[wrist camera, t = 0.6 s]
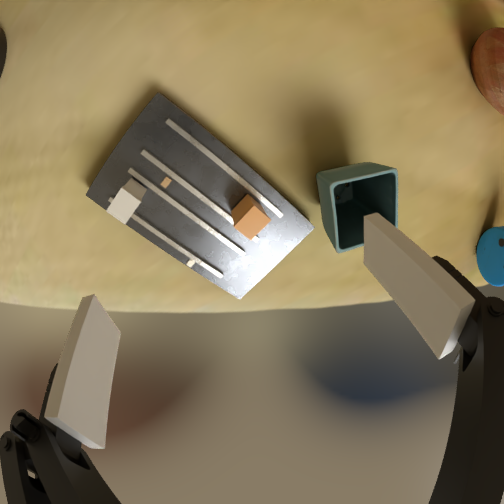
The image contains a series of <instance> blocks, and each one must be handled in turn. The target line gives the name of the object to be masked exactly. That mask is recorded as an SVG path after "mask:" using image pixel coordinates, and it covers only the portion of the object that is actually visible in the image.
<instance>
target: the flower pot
mask: <svg viewBox="0 0 504 504" xmlns="http://www.w3.org/2000/svg"><path fill="white" fill-rule="evenodd" d="M316 179H317V185H318V191H319V198H320V206H321V214H322V221H323V225H324V229H325V231H326V233H327V235H328V237H329V239H330V241H331V242H332V244H333V246H334V248H335V250H336V252H337V253H343V252H346V251H349V250H352V249H355V248H358V247H362V246H364V216H366V215H370V214H373V213H379V214H380V215H381V216H382V217H384V218H385V219H386V220H387V221H389V222H390V223H391V224H392V225H394V226H395V227H396V228H397V229H398V172H397V169H395V168H392V167H388V166H384V165H381V164H376V163H371V162H364V163H358V164H353V165H348V166H344V167H339V168H335V169H330V170H325V171H321V172H318V173H317V175H316ZM346 183H348V186H345V184H346ZM337 196H339V199H337Z"/></svg>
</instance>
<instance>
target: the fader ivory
mask: <svg viewBox="0 0 504 504" xmlns="http://www.w3.org/2000/svg"><path fill="white" fill-rule="evenodd" d="M146 191H147V189H146V188H145V187H143V186H142V185H141V184H139V183H138V182H137V181H135V180H134V179H133V178H131V179H130V180H129V181H128V182H127V183H126V184H125V186H122V188H121V189H120V190H119V192H118V193H117V195H116V197H115V198H114V200H113V201H112V203H111V204H110V206H109V207H108V209H107V212H108V213H109V214H111V215H112V216H114V217H115V218H116V219H118V220H119V221H121V222H122V223H123V224H126V223H127V221H128V220H129V218H130V217H131V215H132V214H133V213H134V211H135V210H136V208H137V207H138V206H139V204H140V203H141V201H142V200H141V199H142V197H143V196H144V194H145V192H146Z"/></svg>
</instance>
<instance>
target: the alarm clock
mask: <svg viewBox="0 0 504 504" xmlns="http://www.w3.org/2000/svg"><path fill="white" fill-rule="evenodd" d="M477 264H478V267H479V270H480V272H481V274H482V276H483V278H484V279H485V280H486V281H487V282H488V283H490V284H492V285H494V286H503V285H504V226H500V227H493V228H490V229H488V230H487V231H485V232H484V233H483V235H482V236H481V238H480V240H479V243H478V246H477Z"/></svg>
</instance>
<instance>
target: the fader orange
mask: <svg viewBox="0 0 504 504" xmlns="http://www.w3.org/2000/svg"><path fill="white" fill-rule="evenodd" d="M231 214H232V218H233V222H234V224H233V227H234V228H235V229H236V230H238V231H239V232H240V233H242V234H243V235H244V236H246V237H247V238H248V239H249V240H252V239H253V238H254V237H255V236H256V235H257V234H258V233H259V232H260V231H261V230H262V229H263V228H264V227H265V226H266V225H267V224H268V223H269V222H270V221H271V219H270V218H269V217H268V216H267V214H266V212H265V210H264V209H263V207H262V206H261V205H260V204H259V203H258V202H257V201H256V200H254V199H253V198H252V197H251V196H250V195H249V194H247V195H246V196H245V197H244V198H243V199H242V200H241V201H240V202H239V204H238V205H237V206H236V207H235V208H234V209H233V210H232V211H231Z"/></svg>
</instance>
